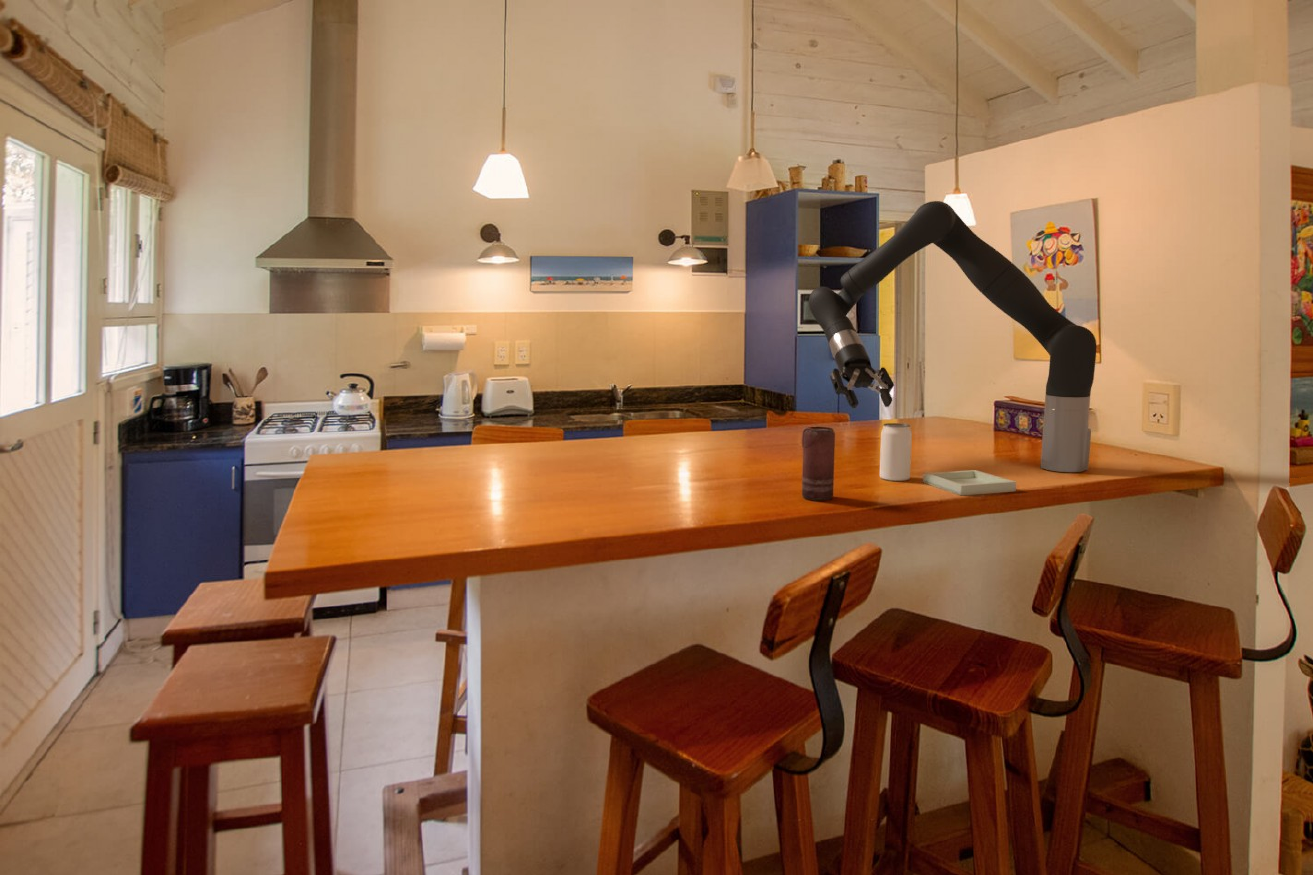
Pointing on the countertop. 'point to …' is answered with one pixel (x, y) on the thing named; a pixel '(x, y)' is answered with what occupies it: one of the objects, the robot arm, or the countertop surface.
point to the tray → (969, 482)
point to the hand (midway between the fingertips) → (872, 405)
